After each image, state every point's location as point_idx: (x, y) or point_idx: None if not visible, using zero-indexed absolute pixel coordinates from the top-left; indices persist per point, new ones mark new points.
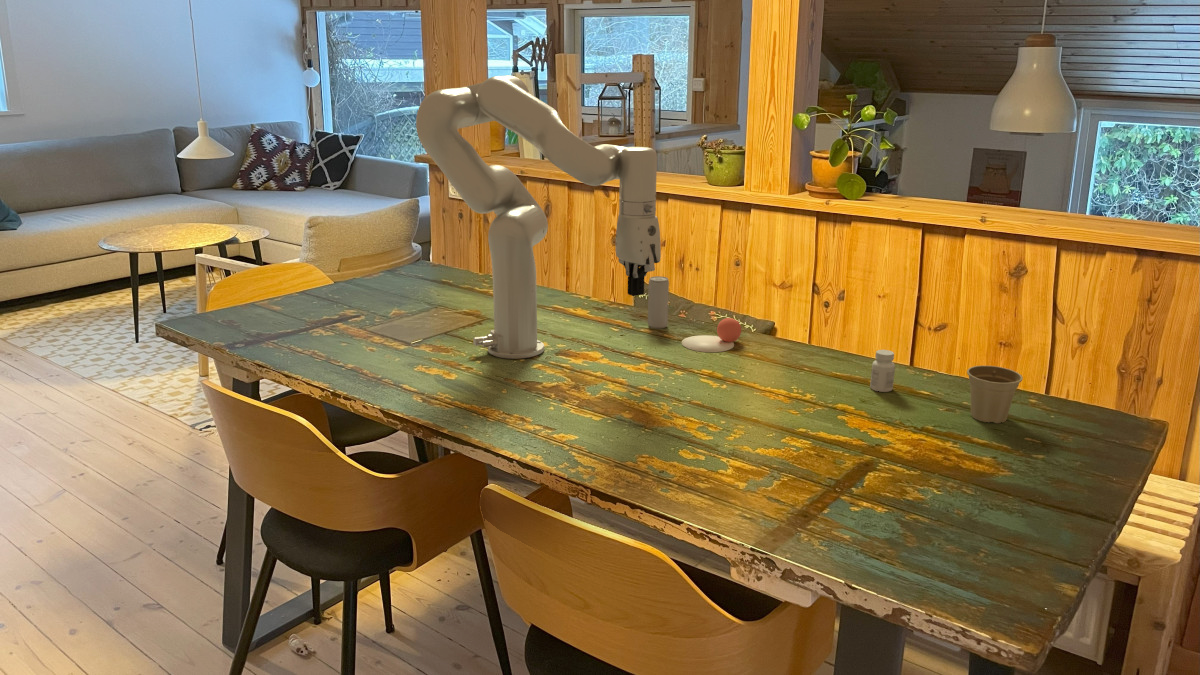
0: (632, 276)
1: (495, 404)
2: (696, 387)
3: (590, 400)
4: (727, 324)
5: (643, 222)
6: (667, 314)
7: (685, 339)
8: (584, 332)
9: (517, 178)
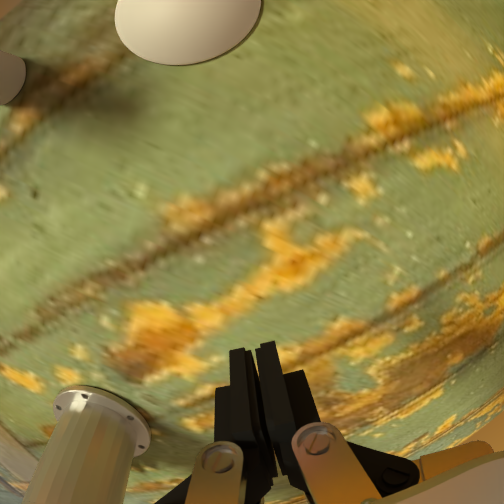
0: (268, 473)
1: None
2: (444, 202)
3: (389, 393)
4: None
5: None
6: (5, 53)
7: (128, 41)
8: (5, 270)
9: None
